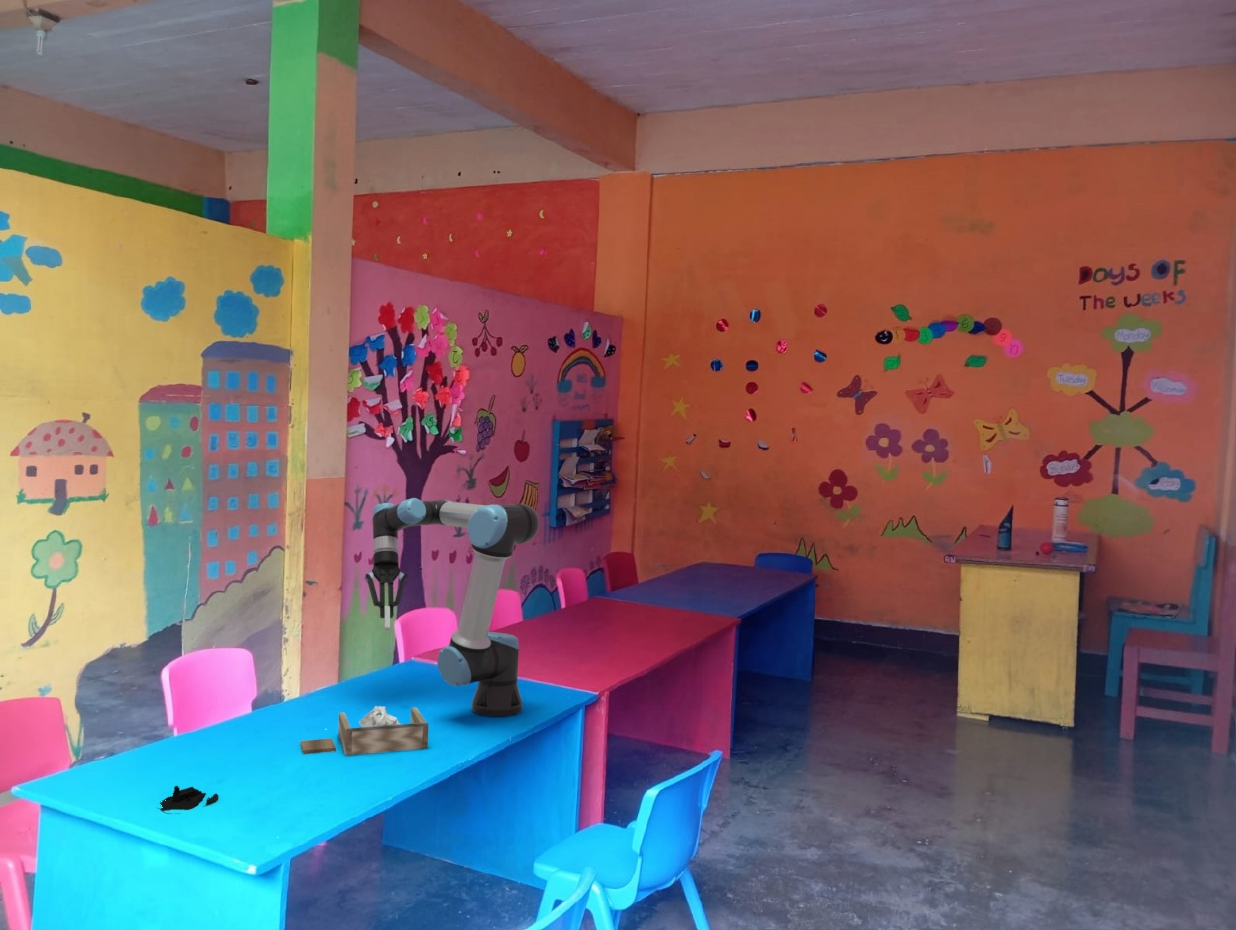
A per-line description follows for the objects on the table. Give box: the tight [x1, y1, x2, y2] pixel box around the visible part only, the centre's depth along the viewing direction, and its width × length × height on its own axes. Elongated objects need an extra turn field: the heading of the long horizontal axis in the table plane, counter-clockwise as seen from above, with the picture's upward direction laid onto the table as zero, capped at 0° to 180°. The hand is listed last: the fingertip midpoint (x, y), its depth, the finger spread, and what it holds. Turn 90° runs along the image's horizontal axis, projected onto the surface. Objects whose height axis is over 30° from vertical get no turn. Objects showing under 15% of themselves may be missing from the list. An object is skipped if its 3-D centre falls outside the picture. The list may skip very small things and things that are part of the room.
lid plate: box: [300, 738, 337, 755], centre depth 258 cm, size 8×8×2 cm
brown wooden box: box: [337, 707, 429, 756], centre depth 265 cm, size 21×18×7 cm
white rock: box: [358, 705, 402, 727], centre depth 266 cm, size 12×9×10 cm
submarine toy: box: [157, 785, 219, 815], centre depth 218 cm, size 12×10×5 cm
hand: (387, 628), depth 295 cm, fingers closed
